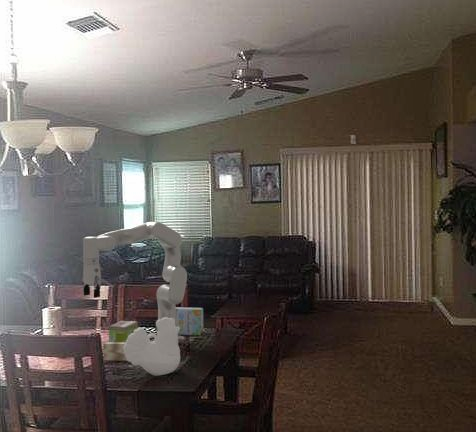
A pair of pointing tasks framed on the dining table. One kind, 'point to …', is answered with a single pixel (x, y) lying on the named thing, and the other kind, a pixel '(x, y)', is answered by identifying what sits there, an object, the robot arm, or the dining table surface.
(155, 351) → the decorative rooster
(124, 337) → the tea box
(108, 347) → the maple board
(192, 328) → the snack box
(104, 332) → the dining table surface
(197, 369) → the dining table surface
